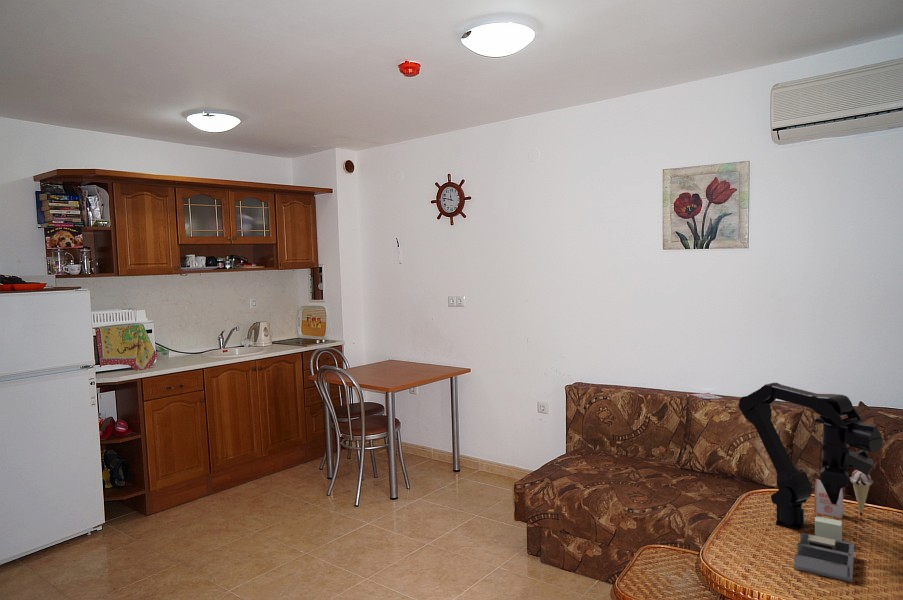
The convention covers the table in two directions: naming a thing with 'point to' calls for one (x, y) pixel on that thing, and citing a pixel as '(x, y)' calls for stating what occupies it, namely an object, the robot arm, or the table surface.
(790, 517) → the robot arm
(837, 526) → the pale sage upright block
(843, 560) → the gray compartment tray
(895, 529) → the table surface
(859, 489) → the ice cream cone
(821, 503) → the white boxy piece
